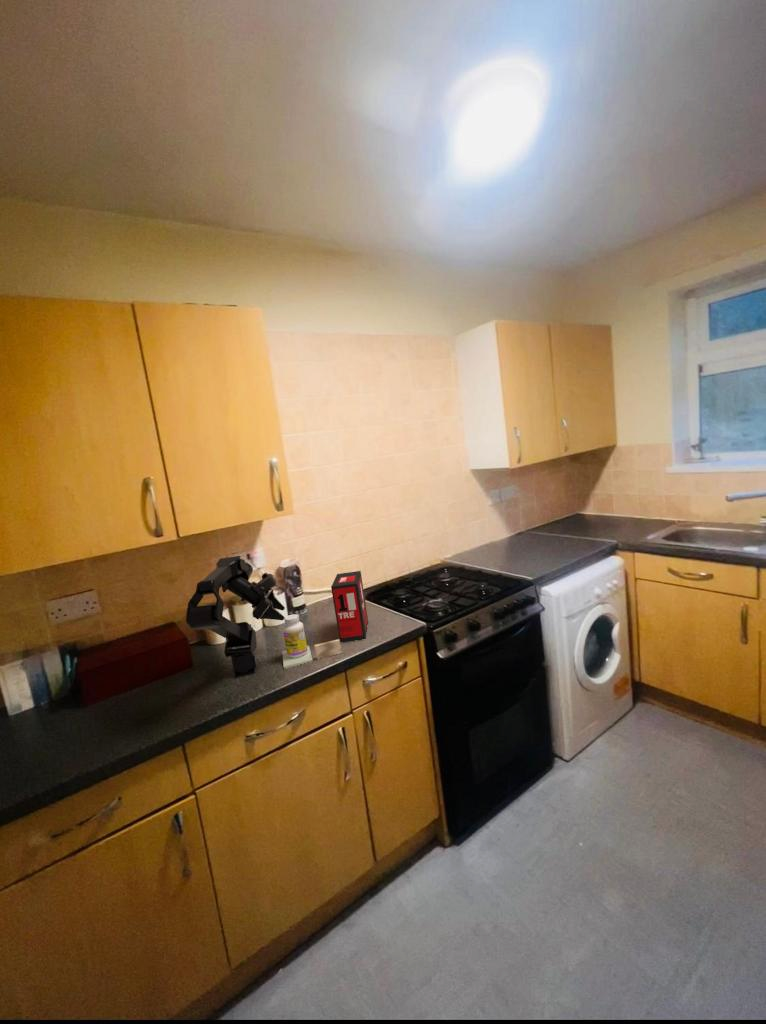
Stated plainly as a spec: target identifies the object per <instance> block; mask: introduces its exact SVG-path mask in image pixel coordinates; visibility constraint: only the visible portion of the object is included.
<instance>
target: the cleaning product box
mask: <svg viewBox="0 0 766 1024" xmlns="http://www.w3.org/2000/svg"><path fill="white" fill-rule="evenodd" d="M362 577H363V576H362V572H361V570H357V571H350V572H349V571H348V572H341V573H337V574H336V575H335V578H334V580H333V582H332V584H331V587H330V588H331V594H332V599H333V607H334V612H335V613H334V614H335V620H336V625H337V632H338V639H339V640H340V642H343V643H349V642H348V641H351V642H356V641H355V640H358V641H363V640H362V639H367V634H366V632H367V633H368V627H367V625H368V626H369V618H368V611H367V605H366V597H365V592H364V591H365V590H364V584H363V583H364V582H363V578H362Z"/></svg>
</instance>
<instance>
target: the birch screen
mask: <svg viewBox="0 0 766 1024" xmlns="http://www.w3.org/2000/svg"><path fill="white" fill-rule="evenodd" d="M314 649H315V650H314V651H315V655H316V659H318V660H321V659H320V658H322V659H326V658H330V657H329V656H331V657H334V656H333V655H335V656H337V655H336V654H339V655H341V654H340V653H342V647H341V643H340V639H339V638H337V639H333V640H330V641H325V642H322V643H318V644H314ZM325 657H326V658H325Z"/></svg>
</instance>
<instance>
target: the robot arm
mask: <svg viewBox="0 0 766 1024" xmlns="http://www.w3.org/2000/svg"><path fill="white" fill-rule="evenodd" d="M215 567H216V568H215V569H214V570H212V571H211V572H210V573H209V574H208V575H207V576H206V577H205V578H203V579H202V580H200V581H199V582H197V584H196V589H195V592H194V593H193V595H192V596H191V598H190V599H189V601H188V603H187V608H186V613H185V614H186V615H185V620H186V623H187V626H188V627H189V628H190V629H192V630H209V631H211V632H213V633H215V634H217V635H218V636H221V637H222V638H224V639H225V644H224V651H223V652H224V653H223V654H224V655H225V658H231V664H232V670H233V678H238V677H243V676H246V675H250V674H253V673H256V669H257V667H258V664H257V658H256V653H255V651H256V649H257V648H258V647H257V635H256V634H257V633H256V630H255V629H254V628H253V627H252V624H249V622H247V621H243V622H233V621H231V620H230V619H228V618H227V617H225V616H223V613H224V606H225V605H224V604H225V603H224V601H223V598H222V597H221V595H220V589H221V591H222V592H223V593H226V592H227V591H229V592H230V593H232V594H233V595H235V596H237V597H238V598H240V601H241V602H244V601H245V602H246V603H248V604H250V605H251V608H252V618H255V619H256V620H274V621H275V620H276V621H285V620H284V618H285V617H286V616H284V615H283V614H282V613H281V612H279V611H285V609H286V607H285V606H284V605H283V604H282V602H280V600H278V598H276V596H275V593H274V588H273V587H275V586H276V585H277V582H278V581H277V580H276V578H275V577H274V574H272V573H267V572H264V573H263V574H261V579H260V580H259V581H258V582H255V581H251V582H250V581H249V579H250V578H251V577H252V574H253V572H254V569H253V566H252V565H251V564H250V563H248V562H246V560H245V559H243V558H241V556H240V555H234V556H228V557H221V558H219V559H218V560H217V562H216V564H215ZM206 595H214V597H215V599H216V603H212V604H205V605H204V604H203V605H199V604H200V602H201V601H202V599H203V598H204V596H206ZM198 605H199V606H198ZM278 610H279V611H278Z"/></svg>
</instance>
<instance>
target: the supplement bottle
mask: <svg viewBox="0 0 766 1024" xmlns="http://www.w3.org/2000/svg"><path fill="white" fill-rule="evenodd" d="M284 617H285V618H284V620H283V621H284V623H285V625H283V628H282V630H283V631H282V633H283V637H284V643H285V648H286V650H285V651H287V655H288V657H290V658H298V657H301V656H303V655H305V654H306V653H307V646H308V645H307V640H306V633H305V626H304V623H303V622H302V621H300V616H299V614H297V613H296V614H289V615H287V616H284Z"/></svg>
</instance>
